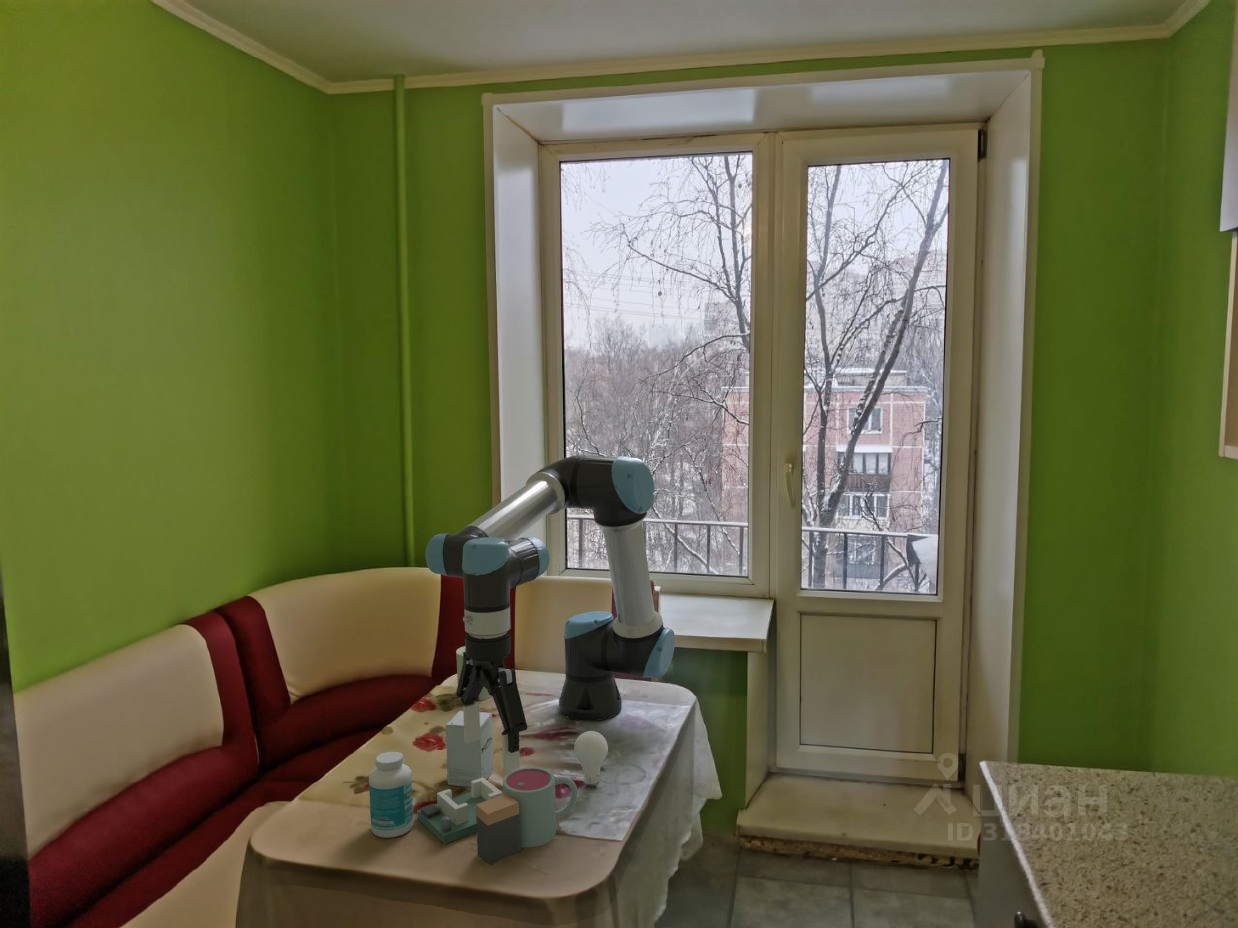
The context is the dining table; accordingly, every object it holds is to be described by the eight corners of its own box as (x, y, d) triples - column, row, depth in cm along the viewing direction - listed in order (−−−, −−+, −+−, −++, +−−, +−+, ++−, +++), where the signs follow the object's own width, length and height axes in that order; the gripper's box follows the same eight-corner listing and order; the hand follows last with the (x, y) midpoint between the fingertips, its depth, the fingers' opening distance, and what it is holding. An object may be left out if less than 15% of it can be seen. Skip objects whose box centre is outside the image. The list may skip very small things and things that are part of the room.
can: (450, 694, 217) (448, 648, 215) (480, 684, 223) (479, 640, 221) (470, 704, 210) (468, 657, 208) (501, 694, 216) (499, 648, 215)
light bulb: (613, 780, 170) (612, 727, 169) (601, 796, 164) (600, 741, 163) (582, 775, 173) (581, 723, 171) (569, 791, 166) (568, 737, 165)
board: (484, 793, 166) (484, 771, 165) (513, 817, 157) (513, 793, 157) (417, 817, 157) (416, 794, 157) (444, 843, 149) (443, 819, 148)
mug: (512, 852, 146) (511, 796, 145) (498, 825, 154) (496, 773, 153) (587, 833, 151) (586, 779, 150) (569, 808, 160) (568, 758, 159)
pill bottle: (414, 835, 151) (411, 763, 150) (371, 843, 149) (367, 769, 148) (412, 814, 158) (409, 745, 157) (371, 821, 156) (367, 750, 155)
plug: (508, 842, 149) (506, 793, 148) (520, 852, 146) (518, 802, 145) (477, 854, 145) (475, 804, 144) (489, 865, 142) (487, 813, 141)
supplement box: (482, 788, 168) (479, 727, 166) (446, 785, 169) (444, 724, 168) (494, 771, 175) (492, 711, 174) (460, 768, 177) (458, 709, 175)
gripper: (434, 619, 149) (438, 735, 152) (505, 656, 130) (508, 789, 132) (473, 611, 154) (476, 724, 156) (547, 646, 134) (549, 775, 136)
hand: (491, 754), depth 144 cm, fingers open, 13 cm apart
